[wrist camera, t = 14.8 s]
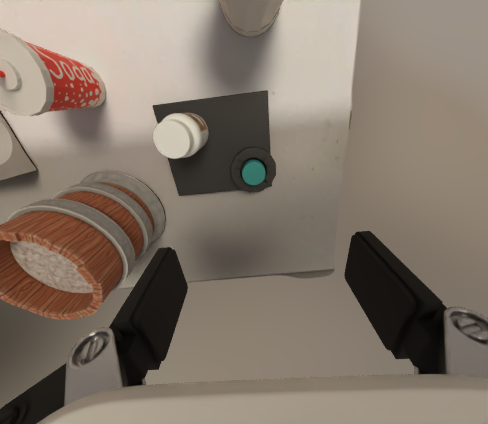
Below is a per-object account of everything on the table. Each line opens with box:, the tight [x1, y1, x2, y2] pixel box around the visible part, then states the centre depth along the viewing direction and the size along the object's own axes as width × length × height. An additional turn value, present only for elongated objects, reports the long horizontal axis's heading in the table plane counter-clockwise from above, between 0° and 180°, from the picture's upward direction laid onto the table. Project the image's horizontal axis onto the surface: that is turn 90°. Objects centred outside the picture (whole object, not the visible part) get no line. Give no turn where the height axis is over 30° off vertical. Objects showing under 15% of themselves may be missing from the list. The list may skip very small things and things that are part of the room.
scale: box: [153, 91, 276, 196], centre depth 26 cm, size 14×12×3 cm
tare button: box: [242, 160, 266, 185], centre depth 25 cm, size 3×3×2 cm
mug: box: [0, 171, 165, 320], centre depth 26 cm, size 14×19×15 cm
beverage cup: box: [0, 29, 106, 116], centre depth 17 cm, size 6×6×14 cm
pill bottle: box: [153, 113, 209, 159], centre depth 21 cm, size 4×4×8 cm
